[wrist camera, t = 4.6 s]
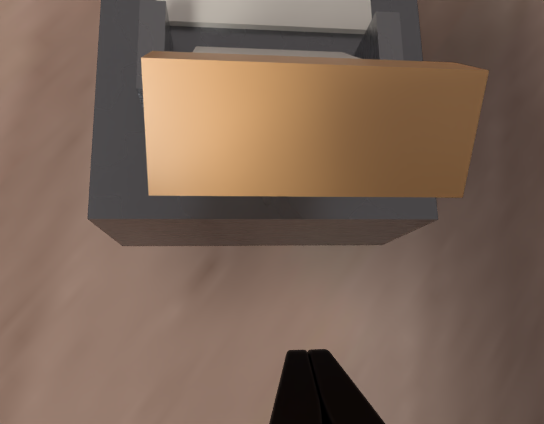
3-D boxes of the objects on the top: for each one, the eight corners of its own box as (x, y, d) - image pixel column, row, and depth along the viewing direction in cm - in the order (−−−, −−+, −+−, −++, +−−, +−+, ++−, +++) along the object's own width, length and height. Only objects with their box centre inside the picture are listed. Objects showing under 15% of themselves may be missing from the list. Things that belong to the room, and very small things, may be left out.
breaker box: (382, 244, 23) (472, 203, 15) (122, 245, 22) (65, 201, 14) (369, 53, 25) (441, -74, 17) (131, 44, 24) (86, -99, 16)
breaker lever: (350, 110, 18) (462, 197, 9) (182, 105, 17) (148, 195, 9) (357, 40, 17) (489, 70, 9) (180, 32, 16) (141, 58, 8)
